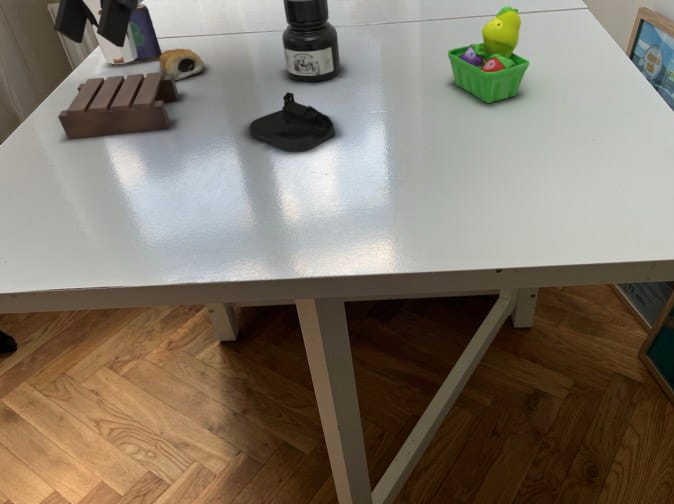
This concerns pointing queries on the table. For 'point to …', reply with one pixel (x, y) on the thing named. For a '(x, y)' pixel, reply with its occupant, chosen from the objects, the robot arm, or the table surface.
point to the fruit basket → (491, 60)
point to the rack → (120, 105)
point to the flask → (143, 35)
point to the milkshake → (113, 54)
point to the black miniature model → (293, 127)
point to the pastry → (180, 63)
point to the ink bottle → (310, 41)
